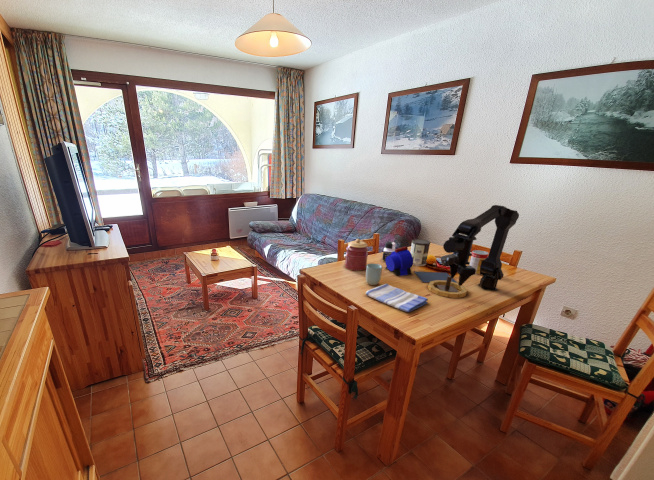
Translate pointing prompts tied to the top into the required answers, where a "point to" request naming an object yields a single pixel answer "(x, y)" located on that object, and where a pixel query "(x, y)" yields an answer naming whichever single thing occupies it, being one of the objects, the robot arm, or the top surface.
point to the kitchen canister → (356, 255)
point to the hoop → (445, 293)
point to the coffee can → (419, 251)
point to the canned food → (477, 259)
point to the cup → (373, 273)
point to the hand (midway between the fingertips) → (455, 281)
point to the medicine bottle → (388, 250)
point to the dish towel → (397, 297)
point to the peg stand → (447, 286)
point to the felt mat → (432, 276)
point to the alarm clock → (400, 261)
